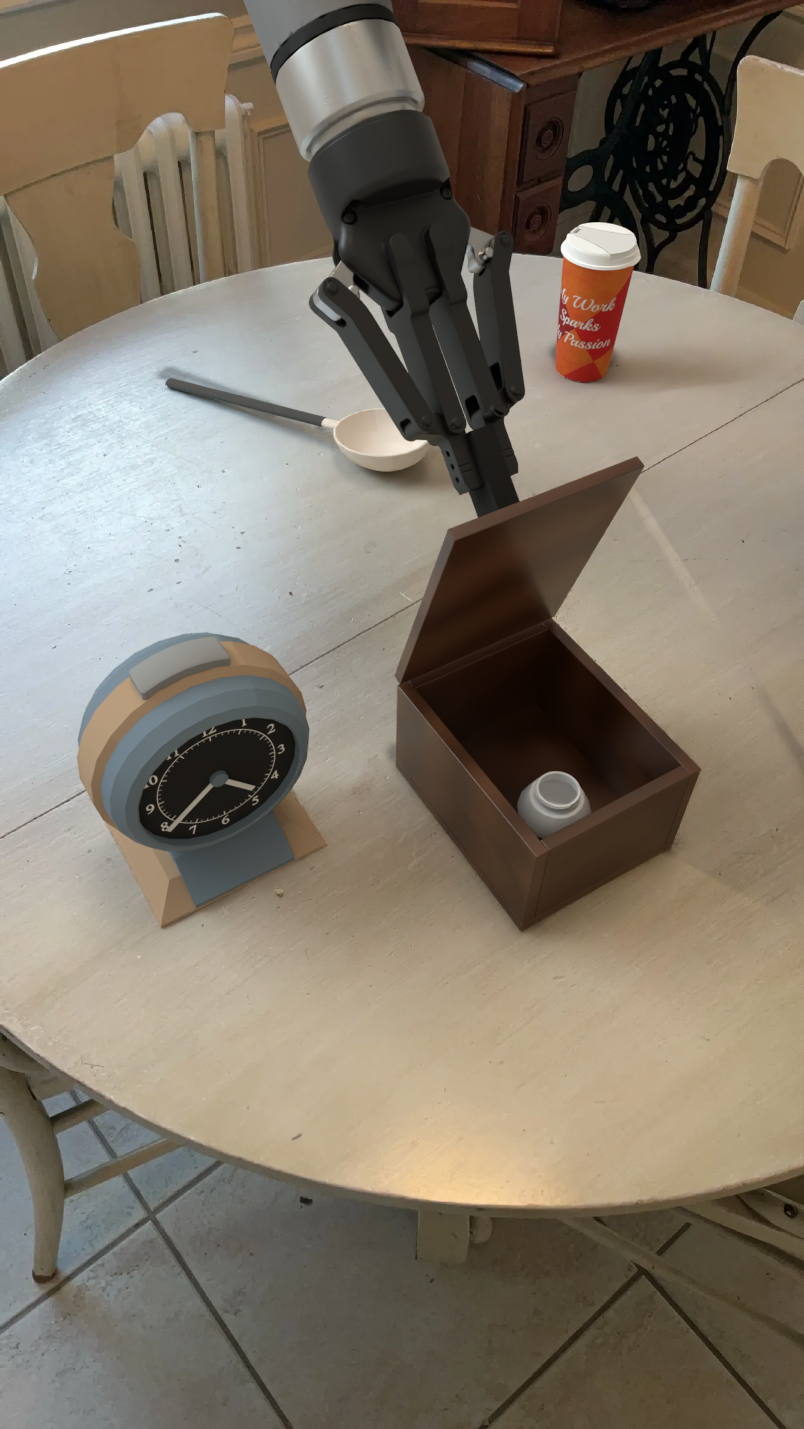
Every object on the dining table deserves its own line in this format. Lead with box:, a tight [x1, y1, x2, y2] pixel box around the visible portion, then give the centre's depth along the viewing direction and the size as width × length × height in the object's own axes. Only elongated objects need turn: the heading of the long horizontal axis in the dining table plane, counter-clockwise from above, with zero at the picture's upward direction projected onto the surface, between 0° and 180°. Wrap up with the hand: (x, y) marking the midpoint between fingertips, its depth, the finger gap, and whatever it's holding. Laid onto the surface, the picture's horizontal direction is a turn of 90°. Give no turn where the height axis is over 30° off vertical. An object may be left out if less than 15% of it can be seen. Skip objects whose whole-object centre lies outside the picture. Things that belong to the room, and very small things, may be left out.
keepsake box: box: [395, 617, 702, 933], centre depth 71 cm, size 16×13×9 cm
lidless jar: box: [517, 771, 591, 838], centre depth 72 cm, size 5×3×5 cm
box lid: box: [393, 455, 645, 685], centre depth 64 cm, size 17×13×1 cm
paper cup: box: [555, 221, 642, 383], centre depth 107 cm, size 8×8×14 cm
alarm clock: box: [76, 631, 328, 929], centre depth 66 cm, size 14×10×18 cm
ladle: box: [164, 377, 432, 472], centre depth 103 cm, size 8×31×4 cm, turn 60°
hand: (508, 537), depth 62 cm, fingers closed
